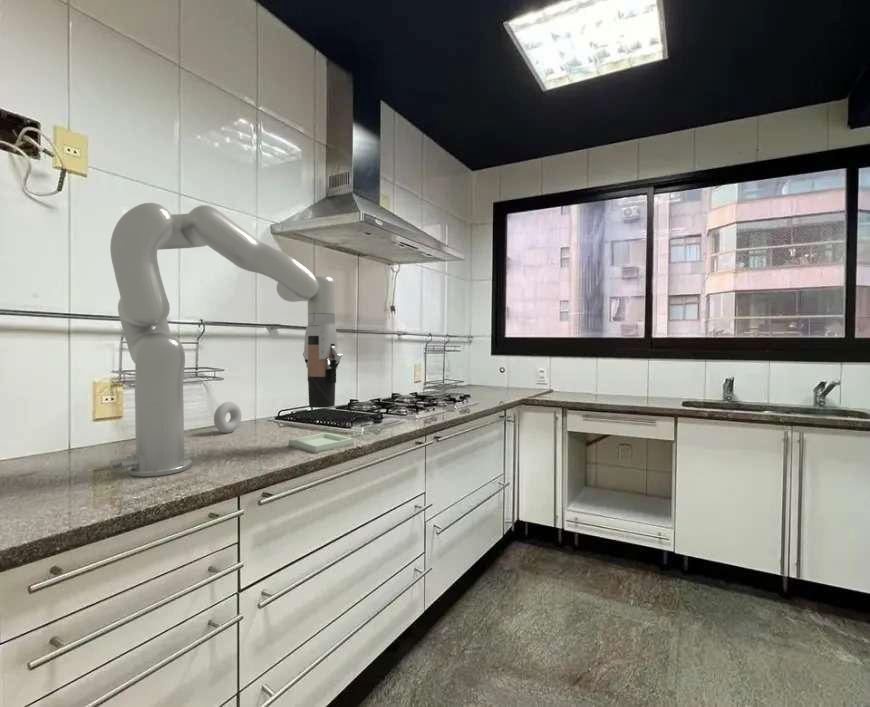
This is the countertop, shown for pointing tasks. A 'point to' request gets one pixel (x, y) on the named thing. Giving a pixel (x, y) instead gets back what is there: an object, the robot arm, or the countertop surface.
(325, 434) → the tray
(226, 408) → the donut
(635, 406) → the countertop surface
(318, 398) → the travel mug
